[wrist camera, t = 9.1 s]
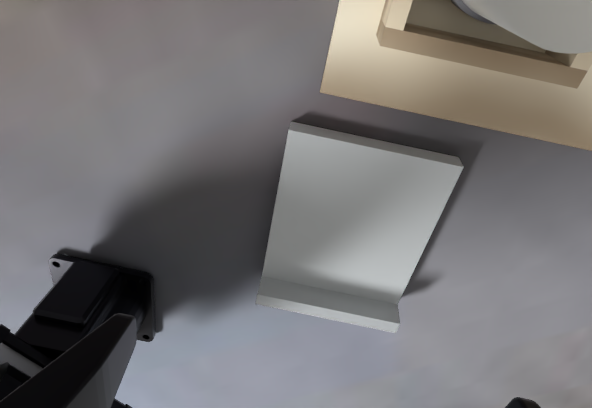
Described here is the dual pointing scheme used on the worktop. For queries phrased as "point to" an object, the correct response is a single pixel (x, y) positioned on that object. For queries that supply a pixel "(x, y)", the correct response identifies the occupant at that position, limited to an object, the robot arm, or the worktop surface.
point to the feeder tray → (351, 224)
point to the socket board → (458, 70)
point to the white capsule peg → (539, 21)
